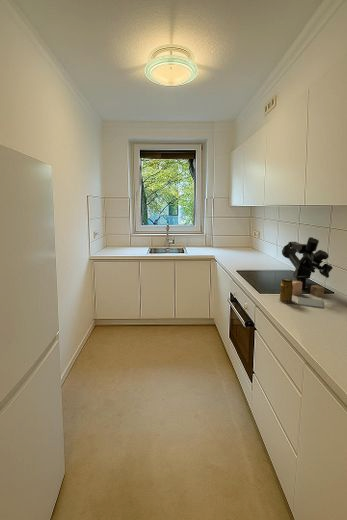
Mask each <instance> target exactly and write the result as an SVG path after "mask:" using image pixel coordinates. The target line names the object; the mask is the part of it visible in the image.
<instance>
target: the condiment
mask: <svg viewBox="0 0 347 520" xmlns="http://www.w3.org/2000/svg"><path fill="white" fill-rule="evenodd" d="M292 281H293V279H291V278H282V280H281V283H280V292H279V298H278V301H279V303H280V304H290V305H291V304H293V305H295V304H296V305H298V302H297V301H296V300H295V299H293V295H292V291H293V285H292Z"/></svg>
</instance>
